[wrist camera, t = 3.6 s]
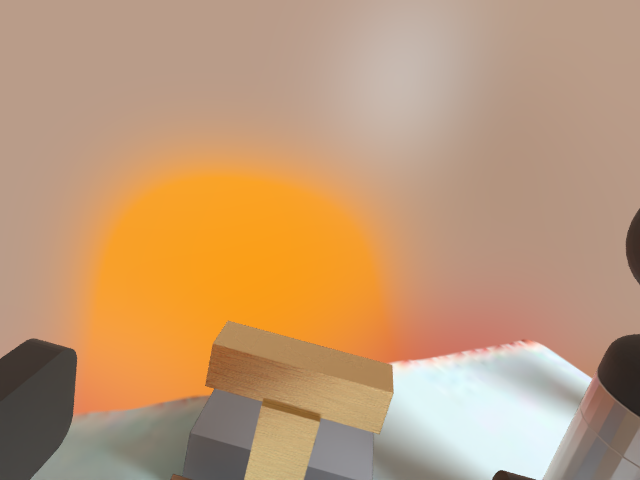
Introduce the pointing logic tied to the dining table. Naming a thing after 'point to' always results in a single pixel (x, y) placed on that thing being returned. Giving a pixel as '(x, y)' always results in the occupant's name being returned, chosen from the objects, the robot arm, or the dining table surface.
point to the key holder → (237, 438)
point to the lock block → (179, 477)
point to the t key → (296, 393)
